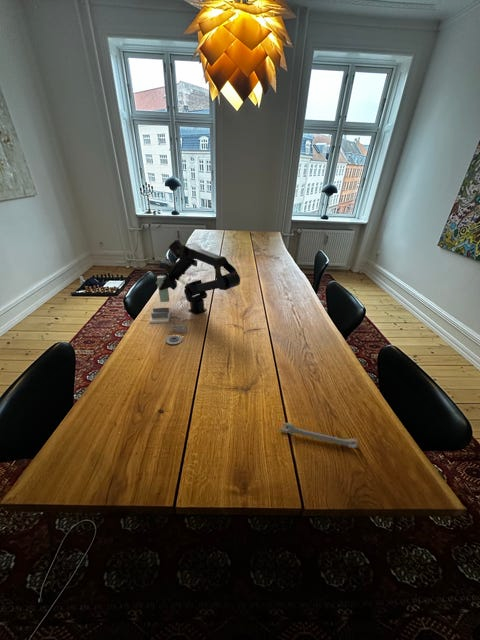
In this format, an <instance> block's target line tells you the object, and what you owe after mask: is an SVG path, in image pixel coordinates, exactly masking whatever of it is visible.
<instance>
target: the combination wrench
mask: <svg viewBox="0 0 480 640" xmlns="http://www.w3.org/2000/svg"><path fill="white" fill-rule="evenodd" d="M282 425H283V426H284V427H287V428H284V427H279V428H278V429H279V430H280V431H281V432H282V433H283V432H286V433H285V434H287V433H289V434H288V435H291V434H297V435H298V434H299V435H302V436H306V437H311V438H314V439H318V440H323V441H327V442H330V443H334V444H338V445H343V446H346V447H347V448H352V449H356V448H358V447H359V442H358V439H356V438H347V439H346V438H345V439H344V438H339V437H336V436H331V435H327V434H322V433H319V432H315V431H310V430H305V429H301V428H298V427H296V426H295V425H294V424H292V423H291V422H282ZM350 443H353V444H350Z"/></svg>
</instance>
